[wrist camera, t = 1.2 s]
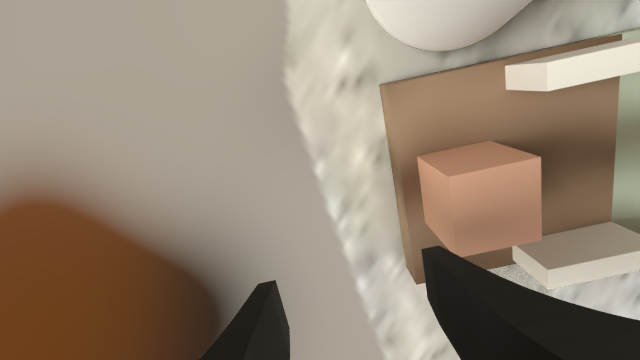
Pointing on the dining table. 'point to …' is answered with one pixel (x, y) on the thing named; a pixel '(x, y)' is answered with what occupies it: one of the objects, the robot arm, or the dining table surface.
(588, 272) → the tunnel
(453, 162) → the block
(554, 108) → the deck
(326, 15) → the dining table surface
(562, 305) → the robot arm
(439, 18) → the pill bottle
